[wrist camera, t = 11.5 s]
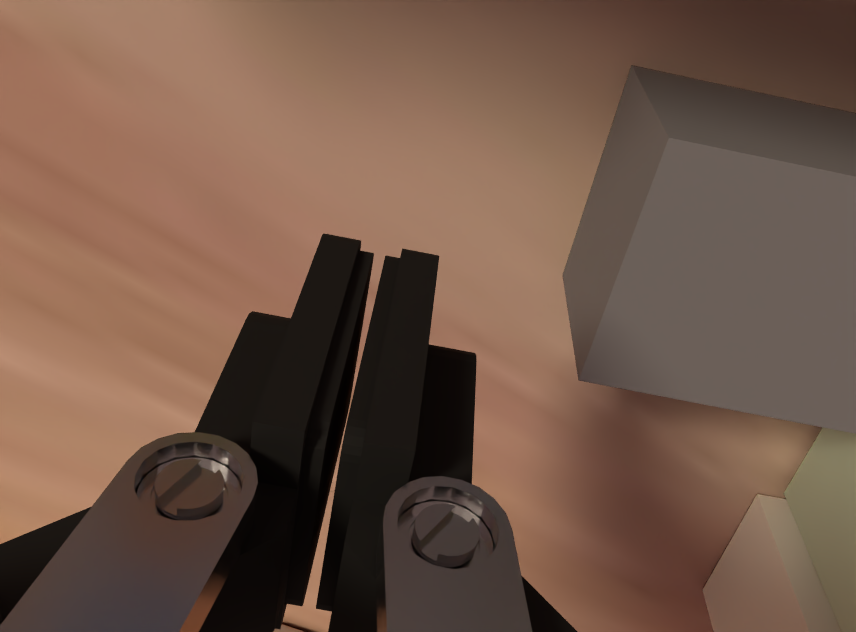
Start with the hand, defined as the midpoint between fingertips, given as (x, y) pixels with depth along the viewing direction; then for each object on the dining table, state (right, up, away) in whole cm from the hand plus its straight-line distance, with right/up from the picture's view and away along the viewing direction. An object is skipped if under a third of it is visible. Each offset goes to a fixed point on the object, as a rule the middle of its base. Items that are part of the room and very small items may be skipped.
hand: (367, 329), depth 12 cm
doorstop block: (+9, +3, +10) cm, 13 cm away
